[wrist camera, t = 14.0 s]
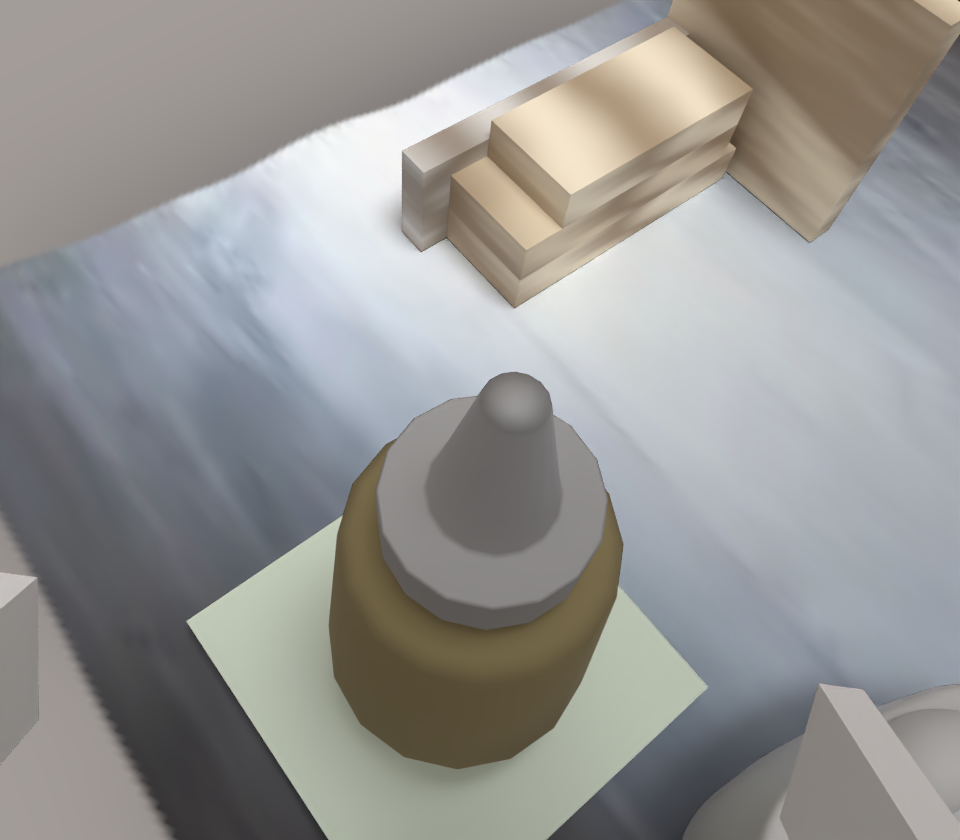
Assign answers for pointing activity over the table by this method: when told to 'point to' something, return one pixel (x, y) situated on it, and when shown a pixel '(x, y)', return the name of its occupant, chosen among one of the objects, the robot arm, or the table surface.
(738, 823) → the lumpy-topped squat cylinder
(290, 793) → the table surface
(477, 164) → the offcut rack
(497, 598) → the squeeze bottle
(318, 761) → the sage mat
